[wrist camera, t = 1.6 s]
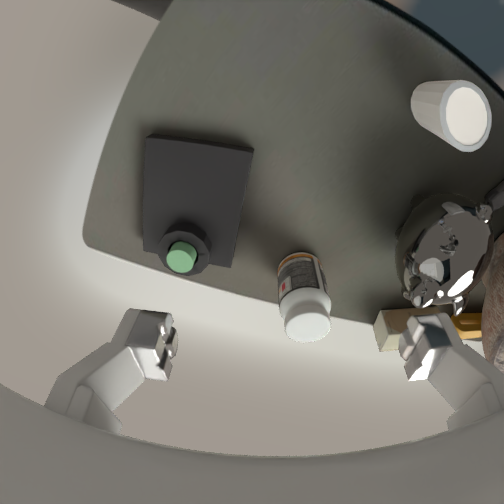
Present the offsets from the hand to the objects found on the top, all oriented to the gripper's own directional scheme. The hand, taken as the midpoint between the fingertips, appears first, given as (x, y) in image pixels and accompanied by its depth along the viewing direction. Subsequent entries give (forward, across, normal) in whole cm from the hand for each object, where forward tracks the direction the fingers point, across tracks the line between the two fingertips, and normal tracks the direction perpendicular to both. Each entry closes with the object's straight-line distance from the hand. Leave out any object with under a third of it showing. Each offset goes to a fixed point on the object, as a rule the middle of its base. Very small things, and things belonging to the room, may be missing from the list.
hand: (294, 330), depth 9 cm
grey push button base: (+23, +9, +5) cm, 25 cm away
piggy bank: (+23, -18, +7) cm, 30 cm away
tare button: (+19, +10, +10) cm, 24 cm away
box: (+20, -27, +23) cm, 41 cm away
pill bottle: (+23, -3, +14) cm, 27 cm away
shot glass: (+23, -17, -8) cm, 29 cm away
